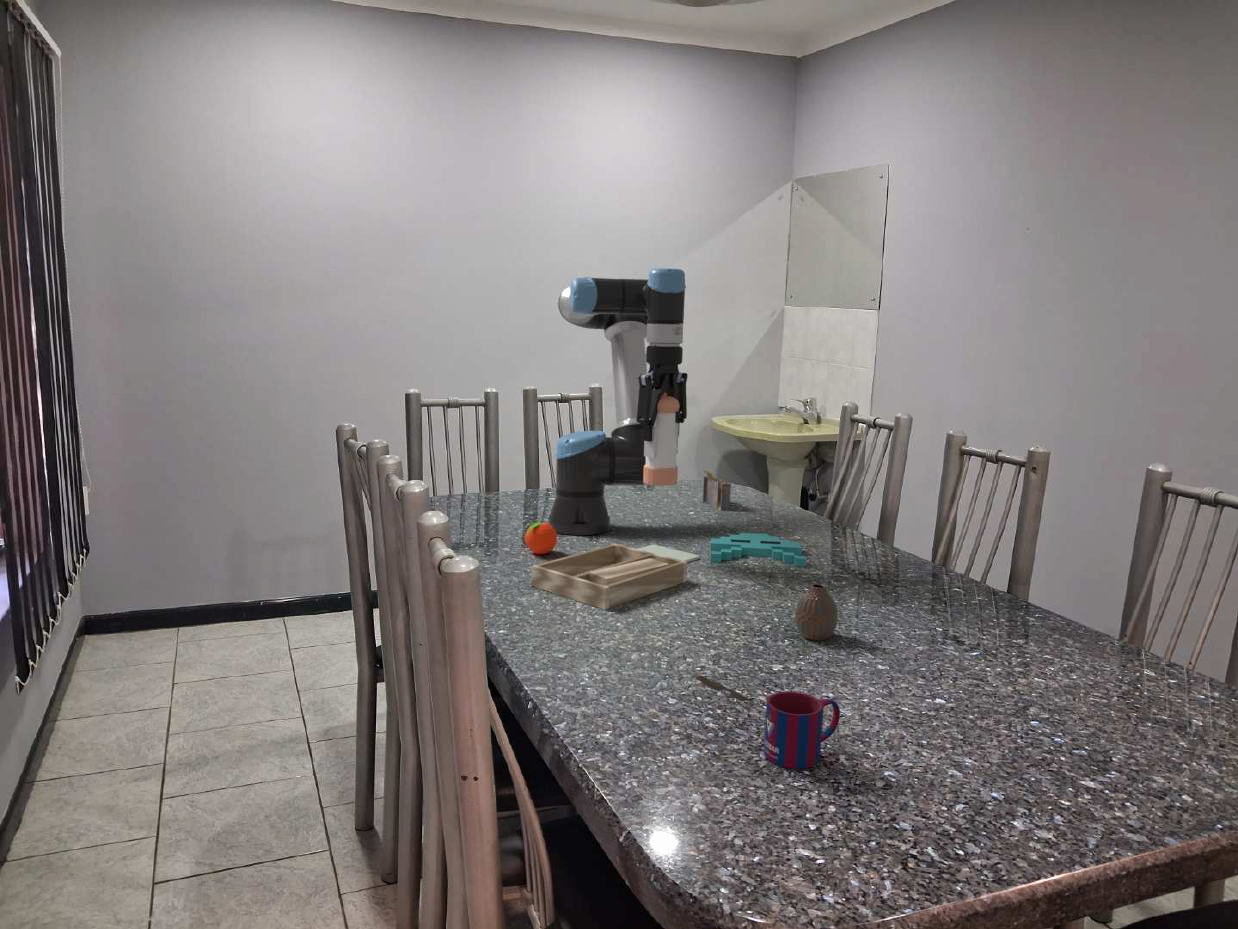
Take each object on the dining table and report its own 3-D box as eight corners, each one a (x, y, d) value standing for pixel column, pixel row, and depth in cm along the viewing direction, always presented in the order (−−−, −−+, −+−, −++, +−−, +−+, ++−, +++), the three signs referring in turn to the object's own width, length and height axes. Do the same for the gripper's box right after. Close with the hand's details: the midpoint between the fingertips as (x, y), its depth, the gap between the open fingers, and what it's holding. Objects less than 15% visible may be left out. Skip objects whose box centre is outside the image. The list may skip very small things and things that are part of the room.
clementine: (538, 560, 190) (539, 528, 188) (514, 554, 194) (515, 522, 192) (563, 553, 196) (564, 521, 195) (539, 547, 200) (540, 516, 199)
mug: (754, 746, 111) (757, 694, 110) (824, 736, 114) (828, 685, 113) (780, 773, 105) (783, 718, 104) (854, 761, 108) (858, 708, 107)
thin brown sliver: (759, 705, 124) (759, 702, 123) (745, 709, 122) (745, 707, 122) (703, 674, 133) (703, 672, 133) (689, 678, 132) (689, 676, 132)
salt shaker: (674, 486, 187) (678, 394, 183) (640, 484, 188) (643, 393, 185) (679, 480, 194) (682, 391, 190) (646, 478, 195) (649, 390, 192)
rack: (531, 586, 172) (531, 566, 171) (614, 562, 190) (614, 543, 189) (604, 609, 160) (605, 588, 159) (686, 581, 178) (687, 561, 177)
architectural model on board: (701, 503, 252) (702, 469, 250) (710, 503, 253) (712, 469, 251) (719, 512, 241) (720, 476, 239) (729, 511, 242) (731, 476, 240)
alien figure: (805, 568, 190) (796, 544, 210) (806, 558, 190) (797, 535, 209) (710, 564, 192) (710, 540, 212) (710, 554, 192) (710, 531, 211)
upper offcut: (588, 585, 168) (589, 572, 167) (650, 570, 178) (651, 558, 178) (606, 592, 164) (606, 578, 164) (668, 576, 175) (668, 564, 174)
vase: (838, 632, 152) (841, 582, 150) (834, 646, 145) (837, 594, 144) (797, 627, 154) (800, 577, 152) (791, 640, 147) (794, 589, 146)
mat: (615, 557, 193) (615, 555, 193) (653, 546, 203) (653, 544, 203) (662, 570, 185) (662, 567, 185) (699, 558, 194) (700, 555, 194)
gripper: (648, 346, 176) (645, 462, 180) (707, 345, 191) (702, 452, 195) (619, 344, 181) (617, 457, 185) (679, 343, 196) (675, 448, 200)
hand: (661, 454), depth 190 cm, fingers closed on salt shaker, 7 cm apart
